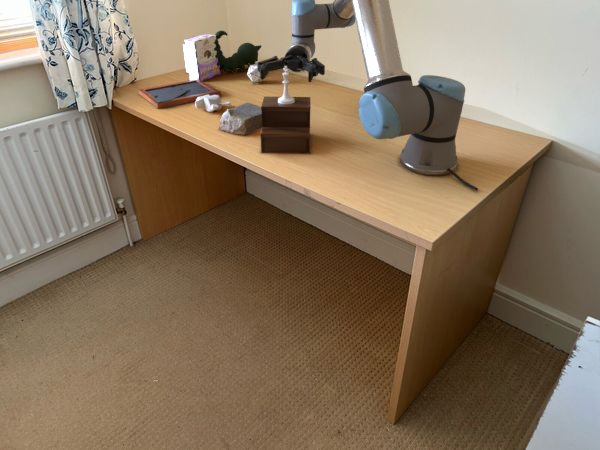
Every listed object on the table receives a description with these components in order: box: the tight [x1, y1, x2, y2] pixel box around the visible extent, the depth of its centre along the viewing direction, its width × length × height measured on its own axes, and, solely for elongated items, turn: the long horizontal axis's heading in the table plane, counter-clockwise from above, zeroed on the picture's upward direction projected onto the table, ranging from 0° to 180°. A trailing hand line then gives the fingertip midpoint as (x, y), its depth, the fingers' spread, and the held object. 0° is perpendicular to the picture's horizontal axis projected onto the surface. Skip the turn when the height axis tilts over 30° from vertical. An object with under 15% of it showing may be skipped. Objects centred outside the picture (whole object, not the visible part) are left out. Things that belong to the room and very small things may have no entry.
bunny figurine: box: [194, 95, 232, 113], centre depth 153 cm, size 10×5×15 cm
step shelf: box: [259, 96, 311, 155], centre depth 128 cm, size 14×14×12 cm
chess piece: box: [278, 66, 295, 104], centre depth 124 cm, size 5×5×10 cm
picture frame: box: [138, 79, 221, 109], centre depth 168 cm, size 20×2×25 cm
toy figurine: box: [214, 30, 262, 74], centre depth 192 cm, size 9×19×25 cm
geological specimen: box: [218, 102, 262, 136], centre depth 141 cm, size 11×6×15 cm
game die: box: [244, 63, 265, 85], centre depth 180 cm, size 9×8×10 cm
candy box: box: [183, 33, 221, 82], centre depth 183 cm, size 14×6×16 cm, turn 149°
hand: (285, 75), depth 122 cm, fingers open, 13 cm apart
